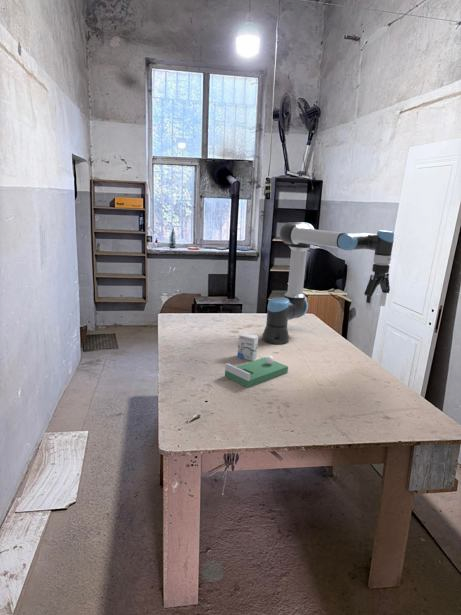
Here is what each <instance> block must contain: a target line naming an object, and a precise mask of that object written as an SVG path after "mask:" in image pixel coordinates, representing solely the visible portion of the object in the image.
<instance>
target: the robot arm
mask: <svg viewBox="0 0 461 615" xmlns="http://www.w3.org/2000/svg"><path fill="white" fill-rule="evenodd" d="M279 238H280V240H281V241H282V242H283V243H284V244H286V245H288V247H289V248H290V258H289V260H290V261H289V272H288V284H287V292H285V293H284V297H283V296H282V297H281V296H279V297H278V296H277V297H273V298H270V299H269V300H268V304H267V306H266V307H267V310H266V311H267V312H266V324H265V327H264V330H263V333H262V337H261V340H262V341H264V342H265V343H268V344H274V345H283V344H284V345H285V344H287V343H289V342H290V335H289V330H288V321H290V320H293V319H299V318H301V317H303V316H305V315H306V313H307V312H308V309H309V303H308V301H307V299H306V295H305V294H304V284H305V274H306V262H307V253H308V250H309V249H310V248H311V245H313V246H314V245H315V246H319V247H320V246H321V247H327V248H335V249H336V248H337V249H341V250H343V251H355V250H371V251H374V255H373V261H372V262H373V264H372V268H371V271H372V272H373V273H374V274H370V275H369V276H370V277H369V280H368V283H367V286H366V288H365V291H364V296H366V299H365V307H364V309H365V310H369V311H371V310H372V304H373V300H374V296H373V295H374V293H375V291H376V289H377V287H378V286H380V289H381V292H380V298H379V304H378V305H379V306H381V307H386V302H387V294H390V290H391V288H390V267H391V266H390V264H391V261H392V252H393V247H394V242H395V241H394V240H395V232H394V231H392V230H377V233H369V232H368V233H367V232H355V233H349V232H343V231H332V230H331V231H330V230H322V229H316V228H314V226H313V225H312V224H311V223H309V222H304V221H296V222H295V221H294V222H292V221H291V222H286V223H284V224H283V225H282V226H281V228H280V229H279Z"/></svg>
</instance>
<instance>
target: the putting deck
mask: <svg viewBox="0 0 461 615" xmlns="http://www.w3.org/2000/svg"><path fill="white" fill-rule="evenodd" d="M266 357H267V356H266ZM266 357H262V358H258V359H255V360H253V361H249V362H246V363H243V364H240V365H237V366H235V365H232V364H230V363H229V362H227V363H225V364H224V365H225V367H224V368H225V369H224V378H227V379H229V380H232V381H233V382H235V383H238V384H240V385H242V386H243V387H246V388H250V387H253V386H255V385H258V384H261V383H263V382H266V381H268V380H272V379H275V378H277V377H280V376H283V375H285V374H288V373H289V372H288V371H289V366H288V365H285V364H284V363H280V362H278V361H276V360H274V362H273V363H272V364H270V365H269V364H267V363H266V362H265V359H266Z"/></svg>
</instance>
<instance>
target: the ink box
mask: <svg viewBox="0 0 461 615" xmlns="http://www.w3.org/2000/svg"><path fill="white" fill-rule="evenodd" d="M258 344H259V336H258V335H256V334H252V333H249V332H242V333H240V334H239V335H238V346H237V358H239V359H242V360H248V361H249V362H252V361H255V360H257V357H258V356H257V354H258Z"/></svg>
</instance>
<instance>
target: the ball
mask: <svg viewBox="0 0 461 615" xmlns="http://www.w3.org/2000/svg"><path fill="white" fill-rule="evenodd" d="M274 361H275V358H274V357H273V356H272V355H267V356H266V359H265V362H266V363H267V364H269V365H270V364H272V363H273V362H274Z"/></svg>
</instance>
